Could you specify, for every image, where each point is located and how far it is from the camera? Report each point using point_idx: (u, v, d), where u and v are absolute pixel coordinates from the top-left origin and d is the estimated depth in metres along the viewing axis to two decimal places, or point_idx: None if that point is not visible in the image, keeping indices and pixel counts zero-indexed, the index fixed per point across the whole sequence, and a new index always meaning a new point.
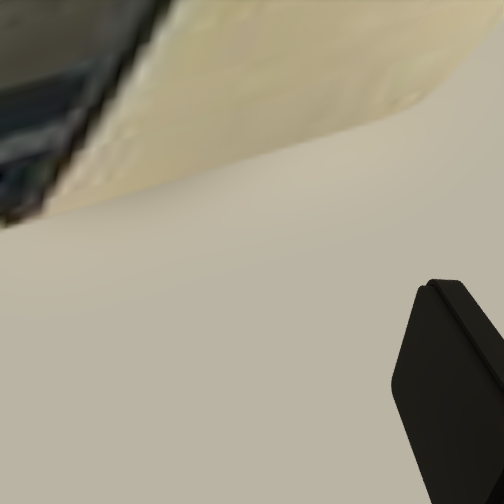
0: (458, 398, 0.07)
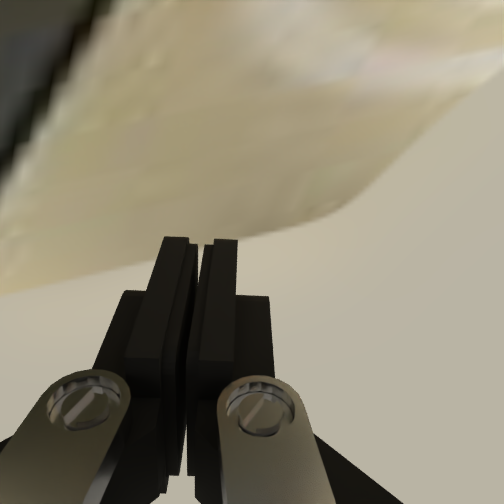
0: None
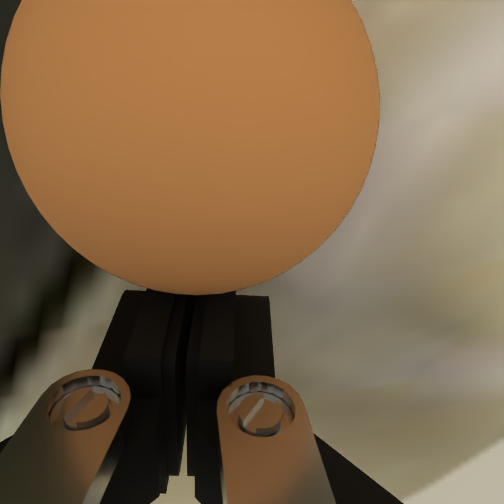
0: None
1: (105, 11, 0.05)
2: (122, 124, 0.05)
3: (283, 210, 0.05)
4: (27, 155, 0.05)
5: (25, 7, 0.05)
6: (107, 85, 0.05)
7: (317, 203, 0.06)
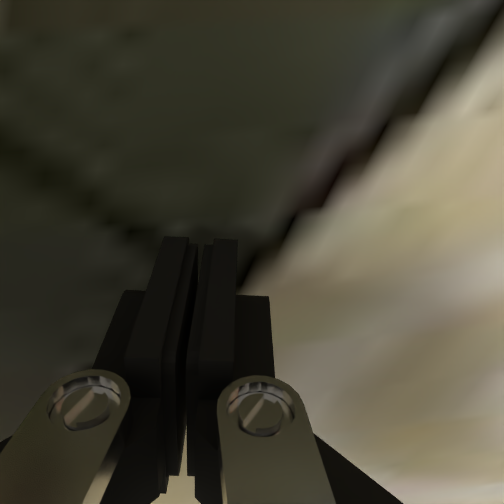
0: None
1: None
2: None
3: None
4: None
5: None
6: None
7: None
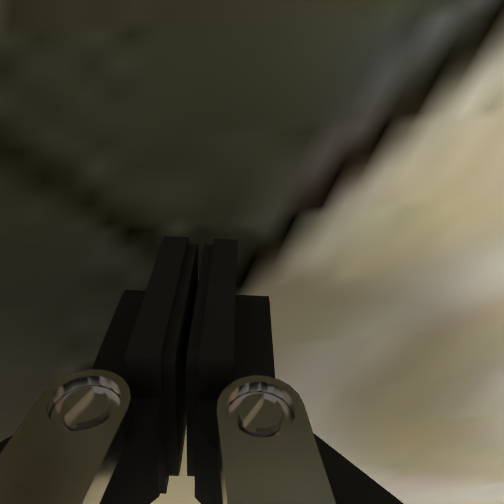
0: None
1: None
2: None
3: None
4: None
5: None
6: None
7: None
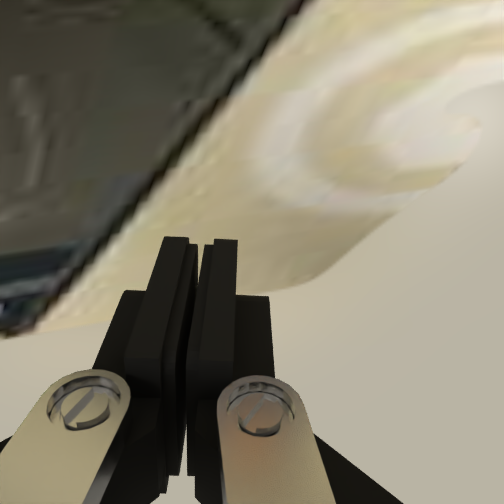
0: None
1: None
2: None
3: None
4: None
5: None
6: None
7: None
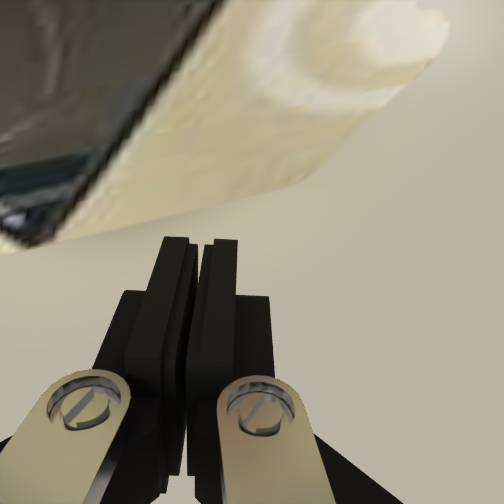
0: None
1: None
2: None
3: None
4: None
5: None
6: None
7: None
